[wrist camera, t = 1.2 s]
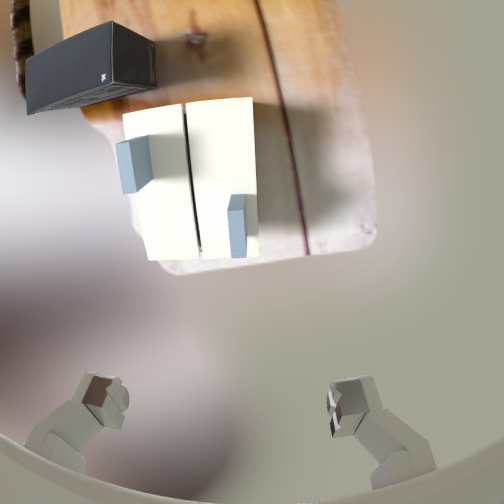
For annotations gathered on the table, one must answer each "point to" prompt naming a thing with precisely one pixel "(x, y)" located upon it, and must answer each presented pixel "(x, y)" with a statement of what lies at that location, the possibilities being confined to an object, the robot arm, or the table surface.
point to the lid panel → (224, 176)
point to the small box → (90, 69)
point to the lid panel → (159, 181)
